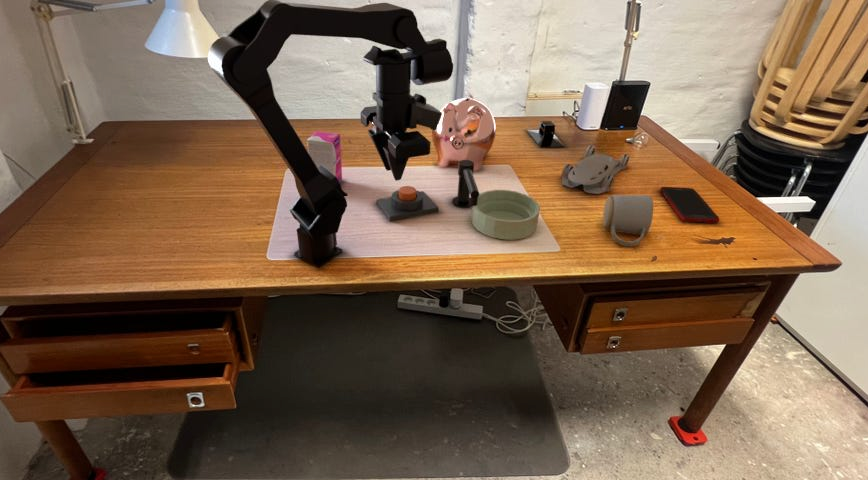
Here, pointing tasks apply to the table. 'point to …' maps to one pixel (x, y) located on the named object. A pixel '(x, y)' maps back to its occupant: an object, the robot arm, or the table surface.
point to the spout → (469, 179)
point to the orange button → (407, 193)
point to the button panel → (406, 206)
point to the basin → (505, 214)
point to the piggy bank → (464, 132)
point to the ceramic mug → (628, 216)
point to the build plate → (546, 136)
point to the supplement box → (326, 152)
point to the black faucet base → (462, 195)
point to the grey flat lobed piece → (593, 172)
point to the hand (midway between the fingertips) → (393, 174)
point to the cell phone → (689, 205)
